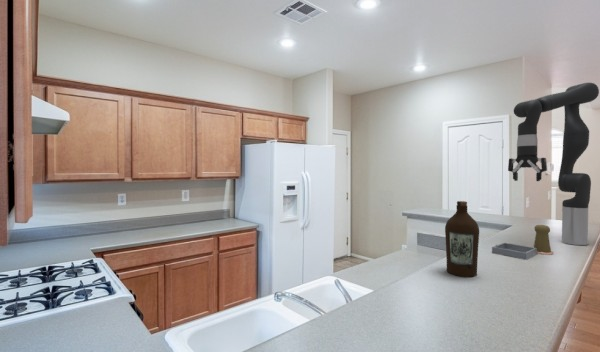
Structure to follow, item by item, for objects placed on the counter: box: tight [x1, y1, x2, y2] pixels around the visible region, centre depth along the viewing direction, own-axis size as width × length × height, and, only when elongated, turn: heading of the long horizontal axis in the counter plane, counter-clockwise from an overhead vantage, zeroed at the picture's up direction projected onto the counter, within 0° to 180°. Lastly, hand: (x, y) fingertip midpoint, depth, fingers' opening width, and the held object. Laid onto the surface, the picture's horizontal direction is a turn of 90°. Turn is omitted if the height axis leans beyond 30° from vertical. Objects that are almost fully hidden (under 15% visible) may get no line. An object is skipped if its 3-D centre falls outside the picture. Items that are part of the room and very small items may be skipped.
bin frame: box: [491, 242, 538, 260], centre depth 132 cm, size 12×12×2 cm
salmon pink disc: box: [537, 250, 554, 256], centre depth 133 cm, size 7×7×1 cm
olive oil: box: [444, 200, 480, 278], centre depth 109 cm, size 11×11×25 cm
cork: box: [533, 224, 552, 253], centre depth 133 cm, size 6×6×11 cm
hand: (526, 180), depth 142 cm, fingers open, 8 cm apart
